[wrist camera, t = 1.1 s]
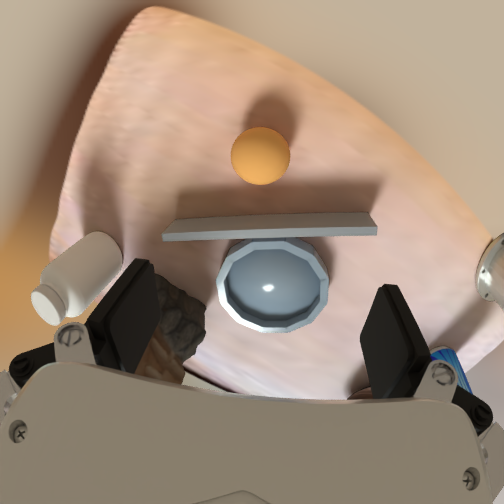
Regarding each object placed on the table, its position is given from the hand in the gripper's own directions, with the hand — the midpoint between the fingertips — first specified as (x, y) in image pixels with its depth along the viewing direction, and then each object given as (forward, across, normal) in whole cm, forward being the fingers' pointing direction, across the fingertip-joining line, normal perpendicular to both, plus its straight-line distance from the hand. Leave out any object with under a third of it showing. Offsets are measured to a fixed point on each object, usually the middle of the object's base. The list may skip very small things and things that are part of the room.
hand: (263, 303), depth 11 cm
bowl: (+23, -1, +14) cm, 27 cm away
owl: (+23, +15, +21) cm, 35 cm away
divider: (+23, 0, +6) cm, 23 cm away
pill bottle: (+24, +25, +14) cm, 37 cm away
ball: (+20, +2, -2) cm, 20 cm away
